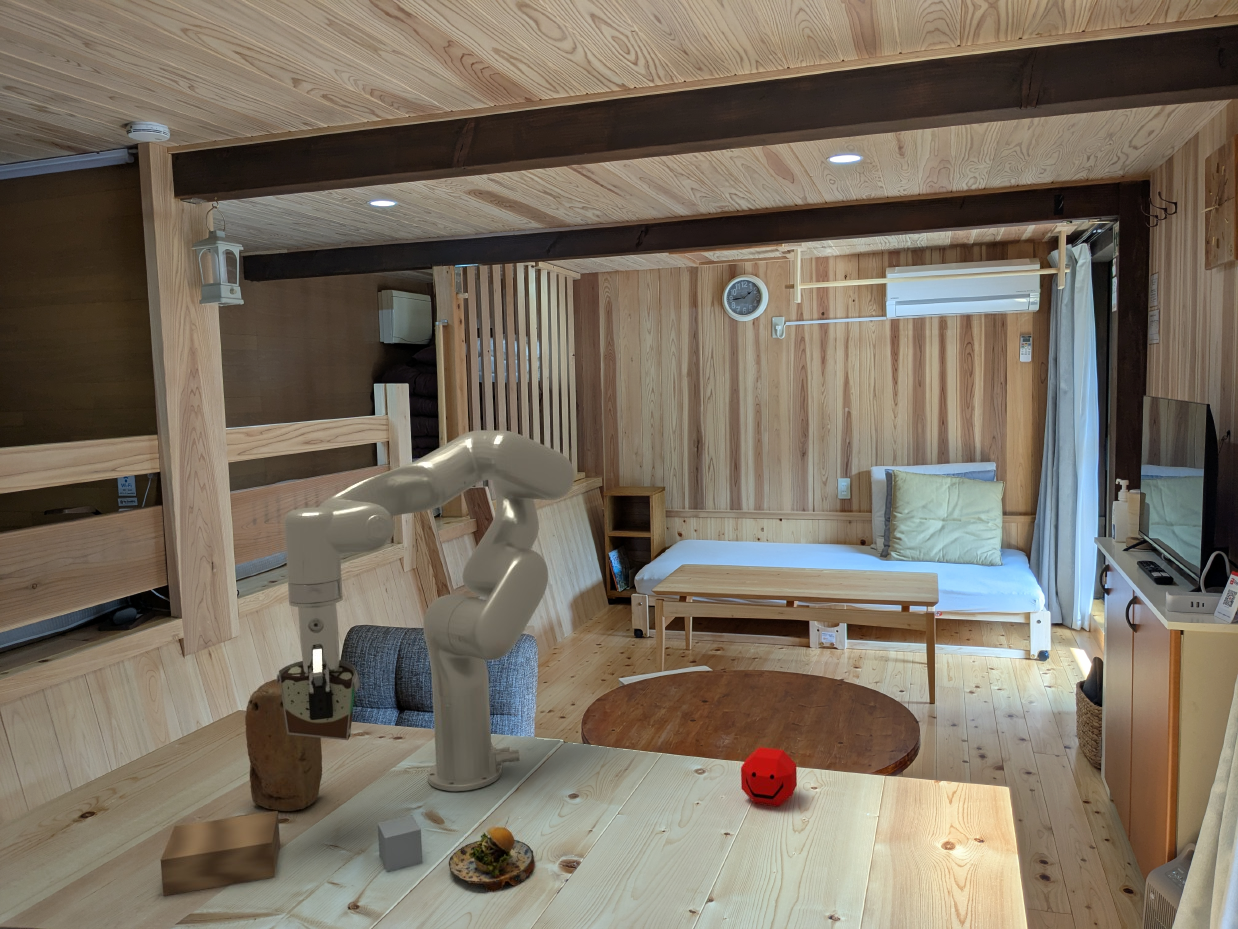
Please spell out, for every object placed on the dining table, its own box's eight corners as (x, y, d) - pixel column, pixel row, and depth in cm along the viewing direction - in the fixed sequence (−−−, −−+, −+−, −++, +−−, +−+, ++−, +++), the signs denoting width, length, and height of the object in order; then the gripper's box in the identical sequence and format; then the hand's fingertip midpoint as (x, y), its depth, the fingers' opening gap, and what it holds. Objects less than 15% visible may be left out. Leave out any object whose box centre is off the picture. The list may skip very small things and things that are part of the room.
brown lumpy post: (328, 795, 151) (321, 677, 149) (303, 816, 144) (295, 692, 142) (270, 791, 153) (262, 675, 152) (243, 811, 146) (234, 690, 145)
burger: (458, 849, 132) (456, 800, 132) (539, 848, 132) (537, 798, 131) (439, 895, 120) (437, 841, 120) (528, 894, 120) (526, 839, 119)
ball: (738, 807, 142) (737, 760, 141) (750, 786, 149) (749, 741, 149) (789, 814, 139) (788, 766, 138) (799, 792, 146) (798, 746, 146)
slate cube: (414, 848, 133) (412, 815, 132) (422, 863, 128) (420, 829, 128) (379, 856, 131) (377, 823, 130) (386, 872, 126) (385, 838, 126)
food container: (373, 721, 139) (372, 660, 137) (357, 741, 133) (356, 678, 131) (296, 714, 141) (295, 653, 139) (277, 733, 135) (275, 670, 133)
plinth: (280, 843, 135) (277, 810, 135) (274, 877, 126) (272, 842, 125) (177, 859, 131) (174, 826, 131) (163, 896, 122) (160, 860, 121)
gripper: (341, 602, 127) (348, 727, 128) (342, 578, 143) (348, 689, 145) (284, 607, 125) (292, 734, 126) (292, 582, 141) (298, 695, 143)
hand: (322, 709), depth 135 cm, fingers closed on food container, 6 cm apart
